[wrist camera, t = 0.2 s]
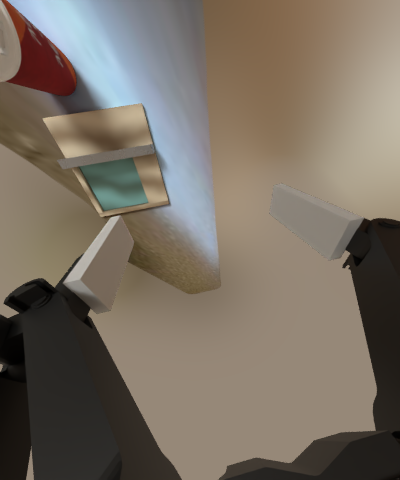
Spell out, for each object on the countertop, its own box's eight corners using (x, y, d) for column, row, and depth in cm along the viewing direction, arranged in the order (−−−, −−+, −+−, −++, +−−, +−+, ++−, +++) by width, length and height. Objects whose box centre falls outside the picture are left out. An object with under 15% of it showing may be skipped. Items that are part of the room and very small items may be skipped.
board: (45, 118, 27) (42, 118, 27) (142, 104, 28) (141, 103, 27) (101, 215, 39) (100, 216, 38) (169, 202, 40) (168, 203, 39)
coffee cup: (85, 54, 24) (-3, -32, 12) (83, 114, 28) (16, 96, 16) (16, 13, 21) (-200, -160, 9) (25, 87, 25) (-116, 38, 13)
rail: (66, 158, 30) (56, 160, 28) (152, 143, 31) (151, 144, 29) (70, 166, 31) (62, 169, 29) (154, 152, 32) (153, 153, 30)
